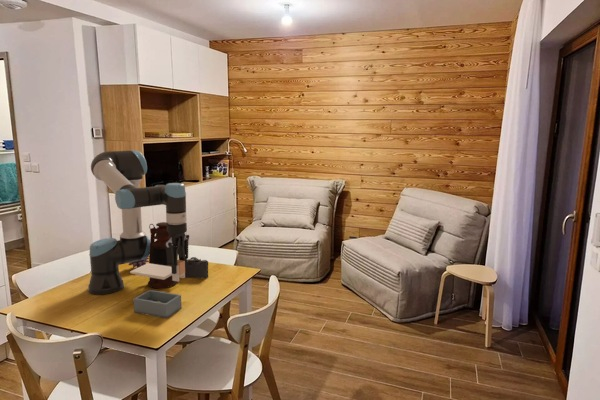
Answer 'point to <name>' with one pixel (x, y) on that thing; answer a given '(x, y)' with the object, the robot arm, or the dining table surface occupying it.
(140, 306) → the tub
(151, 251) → the lantern
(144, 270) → the lid
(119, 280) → the robot arm
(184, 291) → the dining table surface
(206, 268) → the camera
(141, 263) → the purple spiky ball
